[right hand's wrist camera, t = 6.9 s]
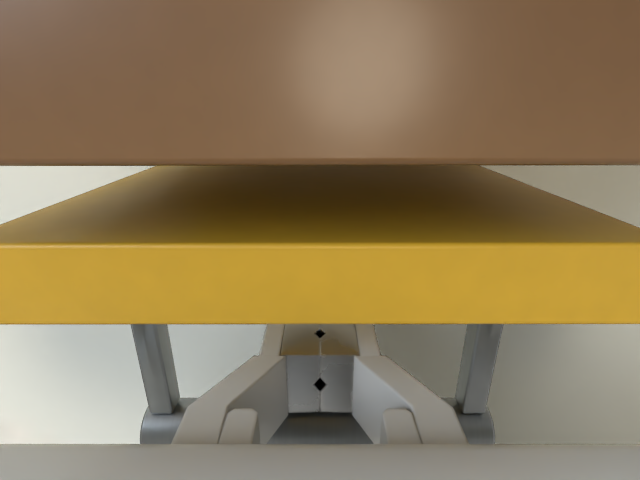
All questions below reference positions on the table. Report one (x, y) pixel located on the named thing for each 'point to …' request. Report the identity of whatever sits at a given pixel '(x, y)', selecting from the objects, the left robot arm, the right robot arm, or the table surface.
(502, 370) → the table surface
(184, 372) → the table surface
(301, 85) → the wooden drawer cabinet
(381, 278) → the drawer
